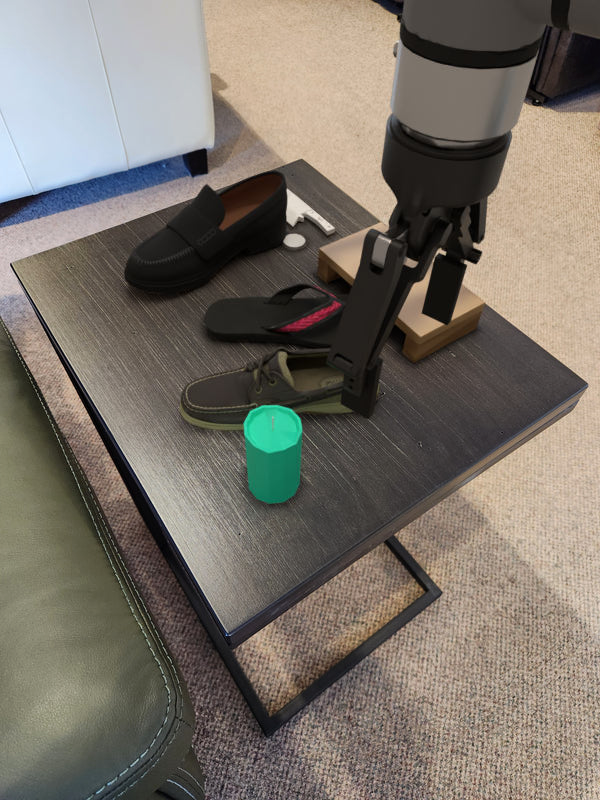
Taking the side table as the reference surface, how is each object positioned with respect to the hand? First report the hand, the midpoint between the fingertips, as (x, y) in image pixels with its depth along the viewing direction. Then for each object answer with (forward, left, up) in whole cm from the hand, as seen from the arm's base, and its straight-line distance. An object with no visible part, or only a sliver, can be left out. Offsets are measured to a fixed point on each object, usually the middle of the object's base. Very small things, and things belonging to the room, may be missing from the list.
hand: (399, 360), depth 52 cm
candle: (+9, +7, -21) cm, 24 cm away
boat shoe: (+16, -3, -21) cm, 26 cm away
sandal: (+22, -15, -21) cm, 34 cm away
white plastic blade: (+38, -37, -21) cm, 57 cm away
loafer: (+41, -19, -21) cm, 50 cm away
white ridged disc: (+34, -30, -21) cm, 50 cm away
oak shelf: (+14, -28, -21) cm, 38 cm away
